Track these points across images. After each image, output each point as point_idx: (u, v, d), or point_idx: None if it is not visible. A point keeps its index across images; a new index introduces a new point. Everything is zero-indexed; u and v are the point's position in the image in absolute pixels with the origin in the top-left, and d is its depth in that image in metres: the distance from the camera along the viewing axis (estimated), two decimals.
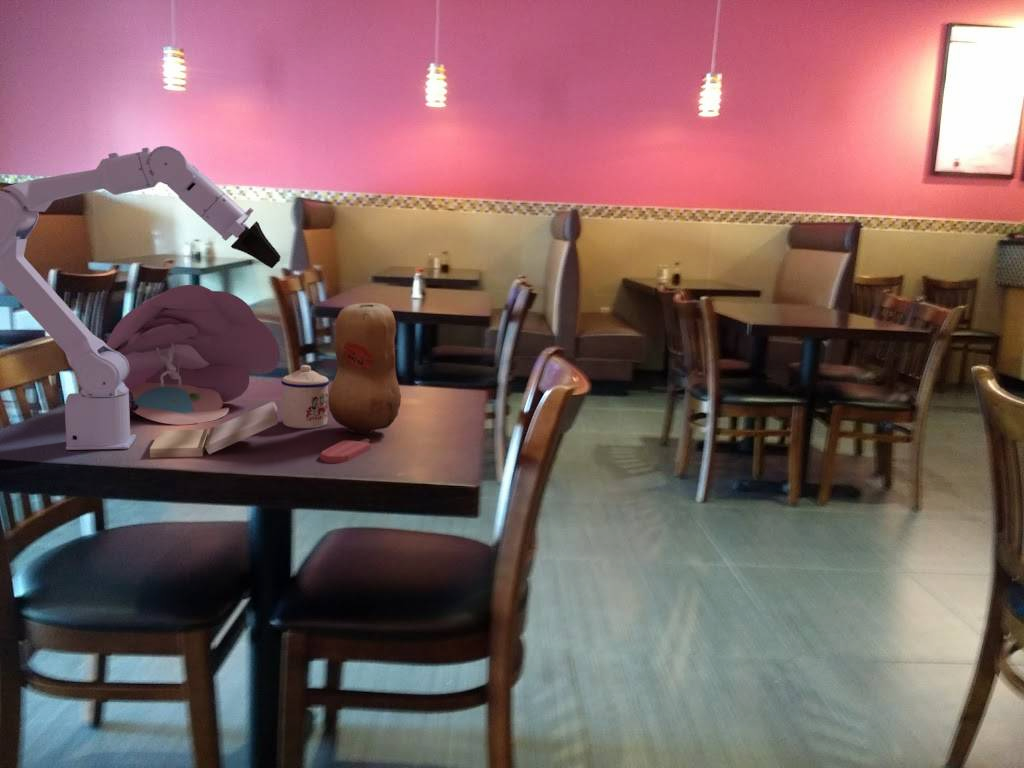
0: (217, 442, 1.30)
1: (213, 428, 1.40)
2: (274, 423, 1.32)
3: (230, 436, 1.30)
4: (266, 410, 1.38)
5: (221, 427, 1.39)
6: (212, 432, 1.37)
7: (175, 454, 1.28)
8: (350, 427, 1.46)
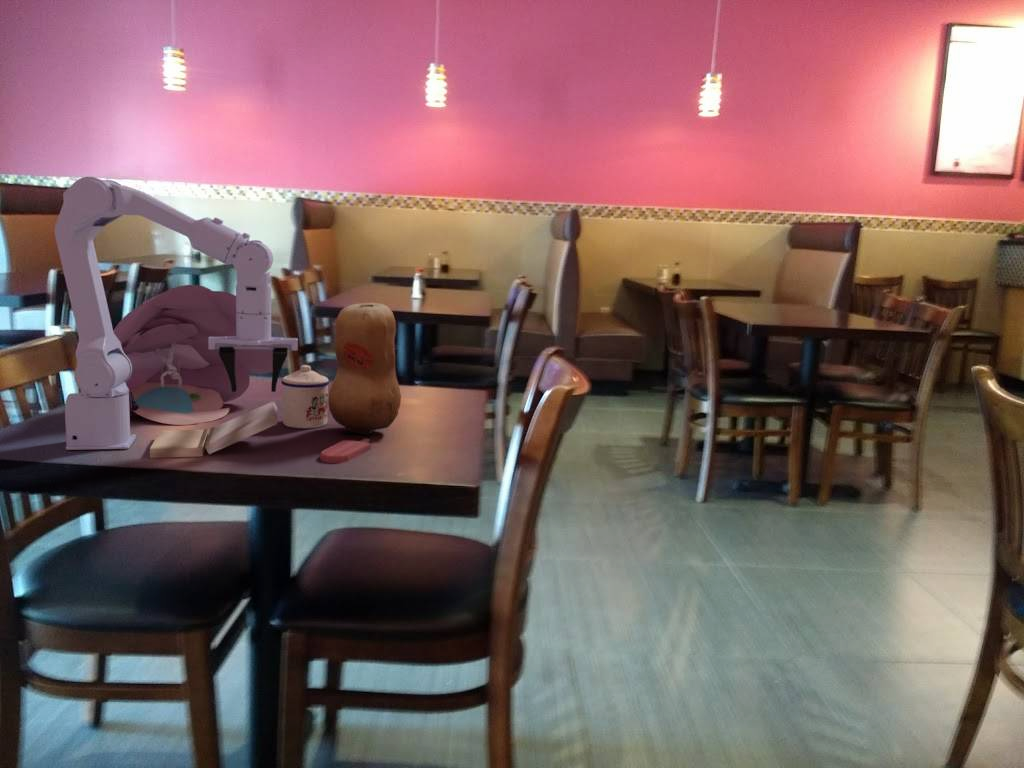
0: (217, 442, 1.30)
1: (213, 428, 1.40)
2: (274, 423, 1.32)
3: (230, 436, 1.30)
4: (266, 410, 1.38)
5: (221, 427, 1.39)
6: (212, 432, 1.37)
7: (175, 454, 1.28)
8: (350, 427, 1.46)
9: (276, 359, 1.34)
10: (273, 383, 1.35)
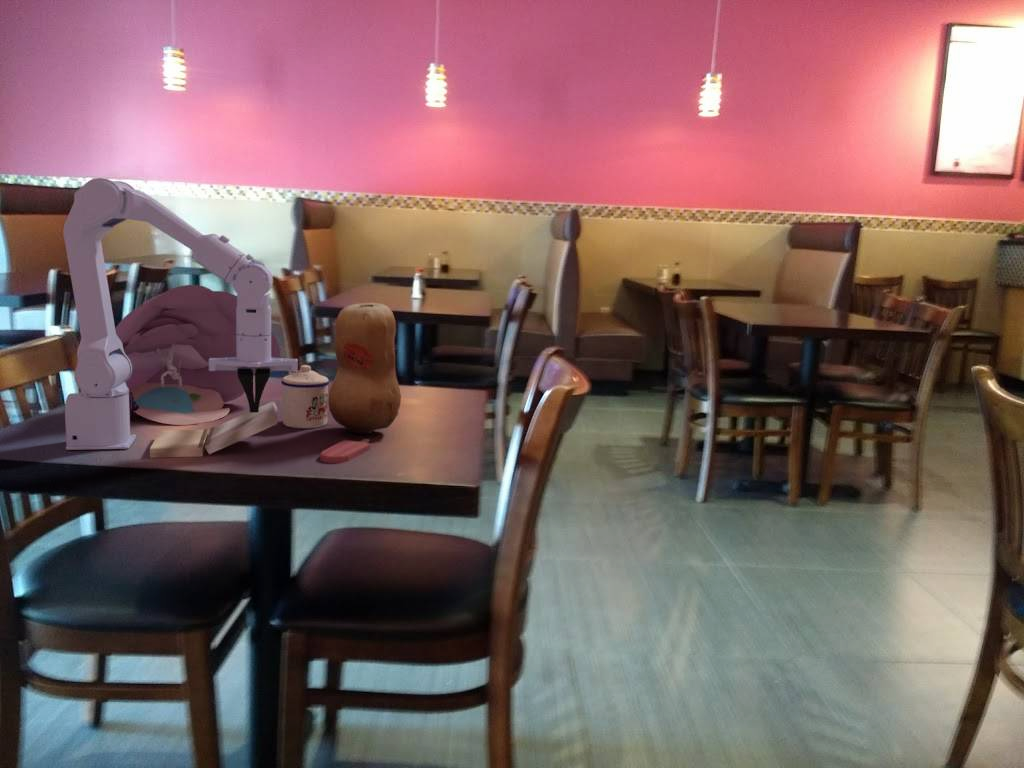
0: (217, 442, 1.30)
1: (213, 428, 1.40)
2: (274, 423, 1.32)
3: (230, 436, 1.30)
4: (266, 410, 1.38)
5: (221, 427, 1.39)
6: (212, 432, 1.37)
7: (175, 454, 1.28)
8: (350, 427, 1.46)
9: (258, 380, 1.33)
10: (256, 404, 1.35)
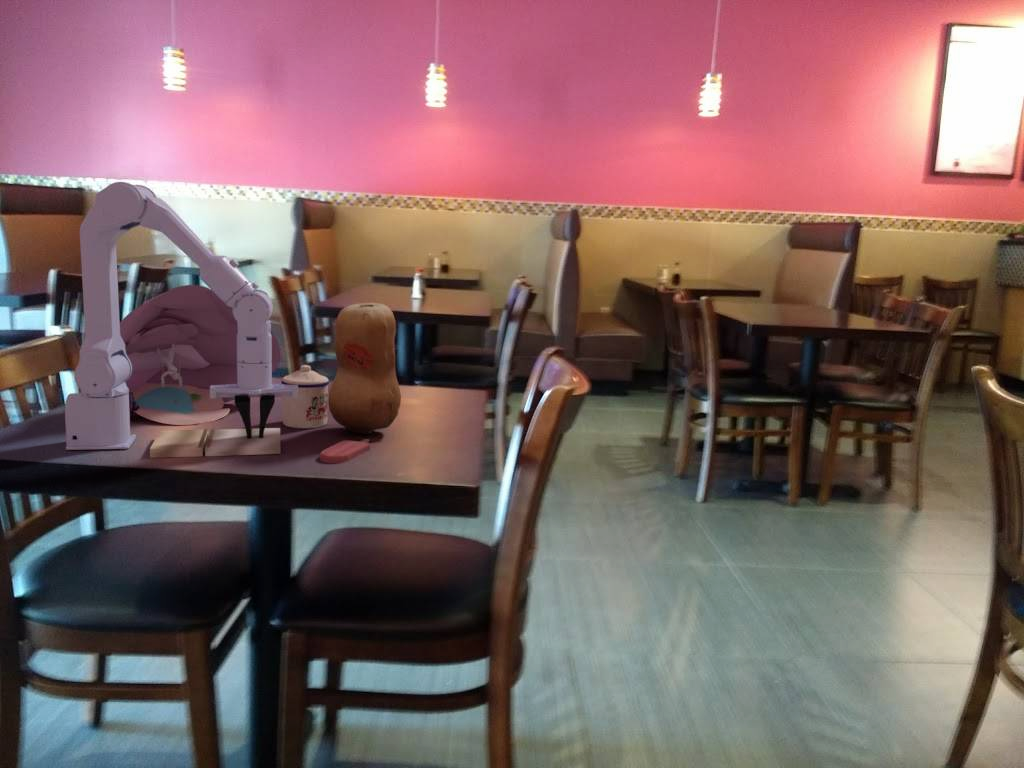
0: (218, 448, 1.30)
1: (214, 430, 1.40)
2: (278, 452, 1.33)
3: (232, 447, 1.31)
4: (272, 435, 1.39)
5: (223, 433, 1.39)
6: (213, 434, 1.37)
7: (175, 454, 1.28)
8: (350, 427, 1.46)
9: (263, 407, 1.35)
10: (260, 430, 1.36)
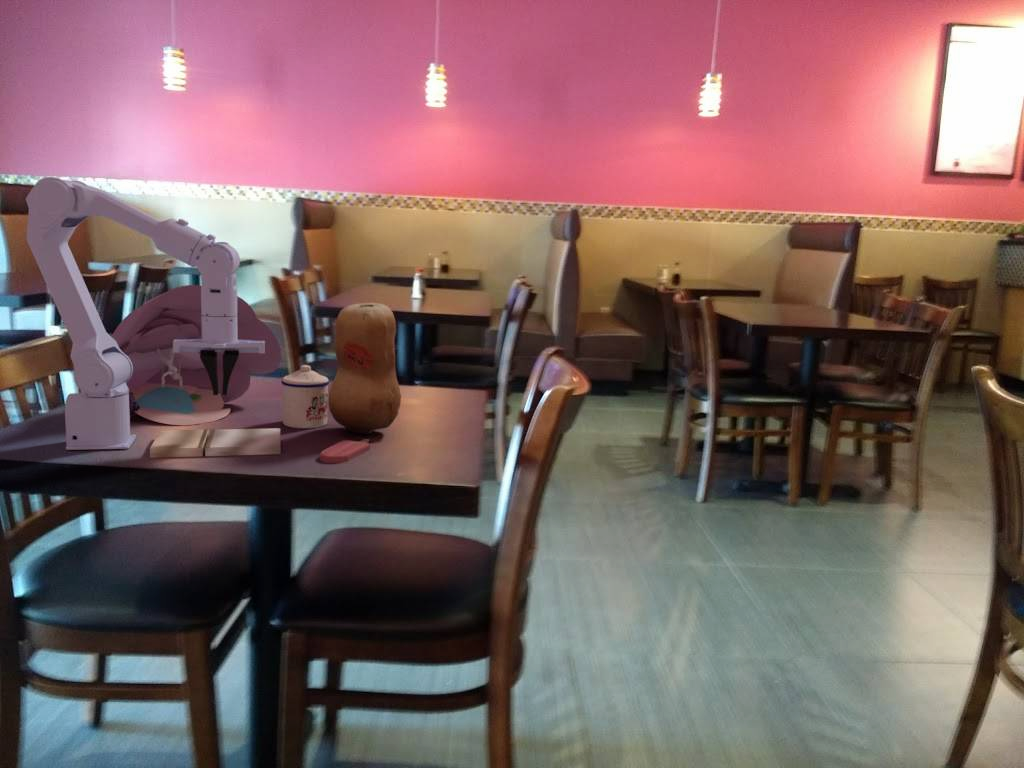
0: (218, 448, 1.30)
1: (214, 430, 1.40)
2: (278, 452, 1.33)
3: (232, 448, 1.31)
4: (272, 435, 1.39)
5: (223, 433, 1.39)
6: (213, 434, 1.37)
7: (175, 454, 1.28)
8: (350, 427, 1.46)
9: (226, 362, 1.31)
10: (224, 386, 1.33)
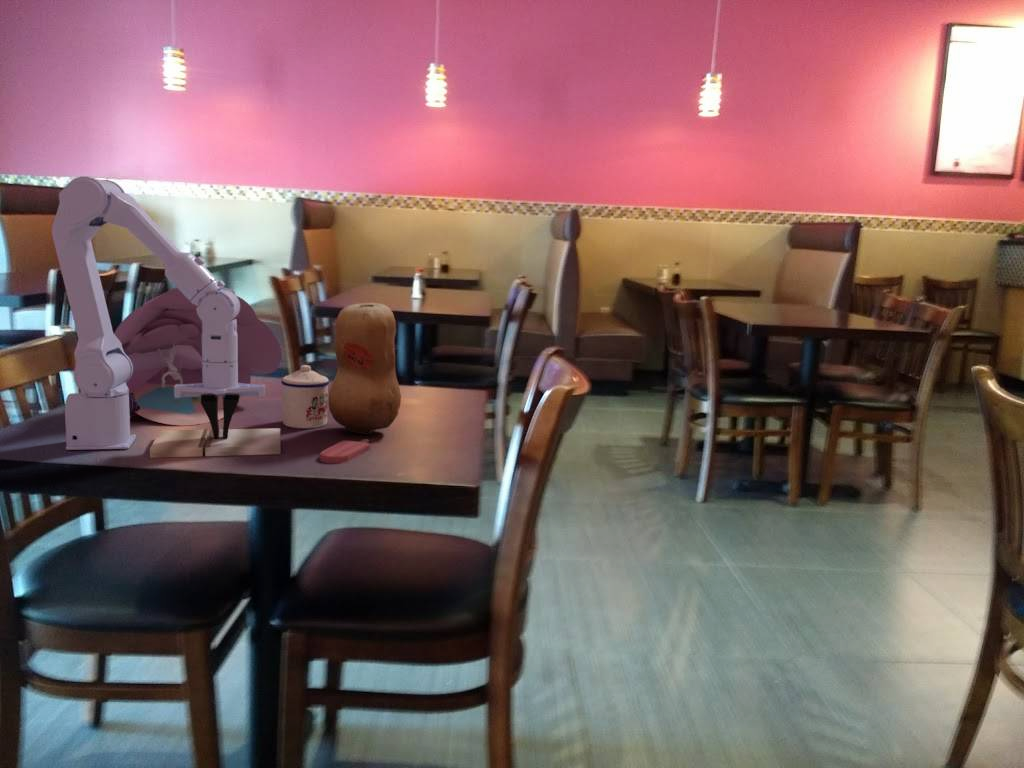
0: (218, 448, 1.30)
1: None
2: (278, 452, 1.33)
3: (232, 448, 1.31)
4: (272, 435, 1.39)
5: None
6: None
7: (175, 454, 1.28)
8: (350, 427, 1.46)
9: (227, 407, 1.33)
10: (224, 430, 1.34)
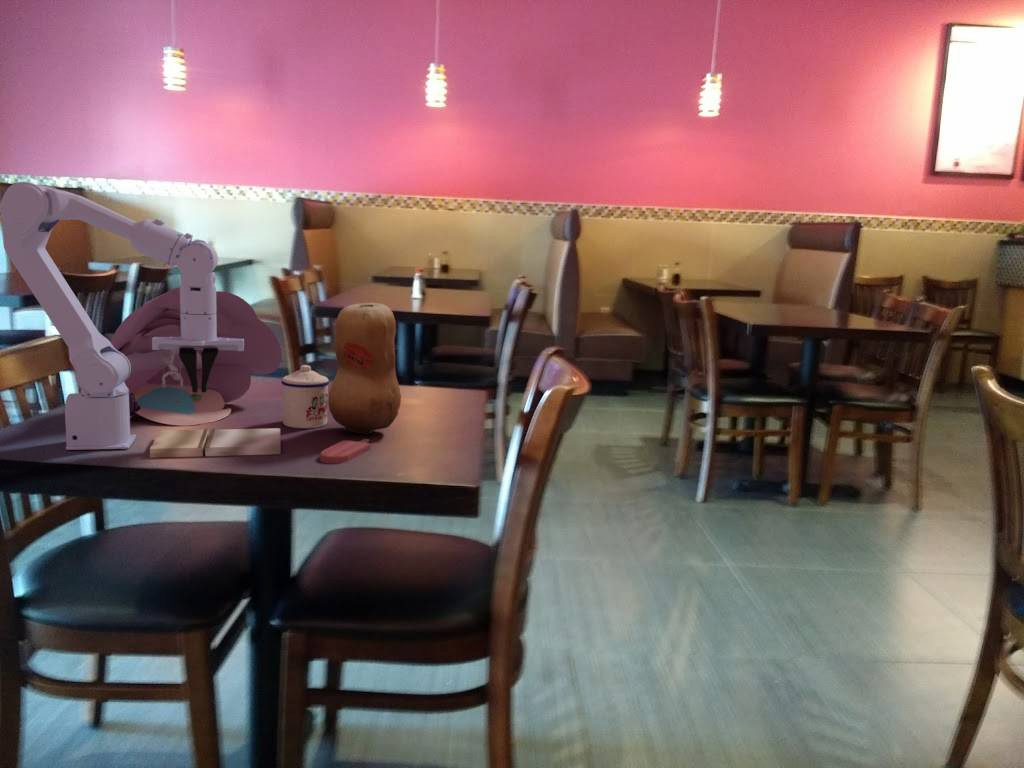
0: (218, 448, 1.30)
1: (214, 430, 1.40)
2: (278, 452, 1.33)
3: (232, 448, 1.31)
4: (272, 435, 1.39)
5: (223, 433, 1.39)
6: (213, 434, 1.37)
7: (175, 454, 1.28)
8: (350, 427, 1.46)
9: (205, 359, 1.32)
10: (203, 384, 1.34)
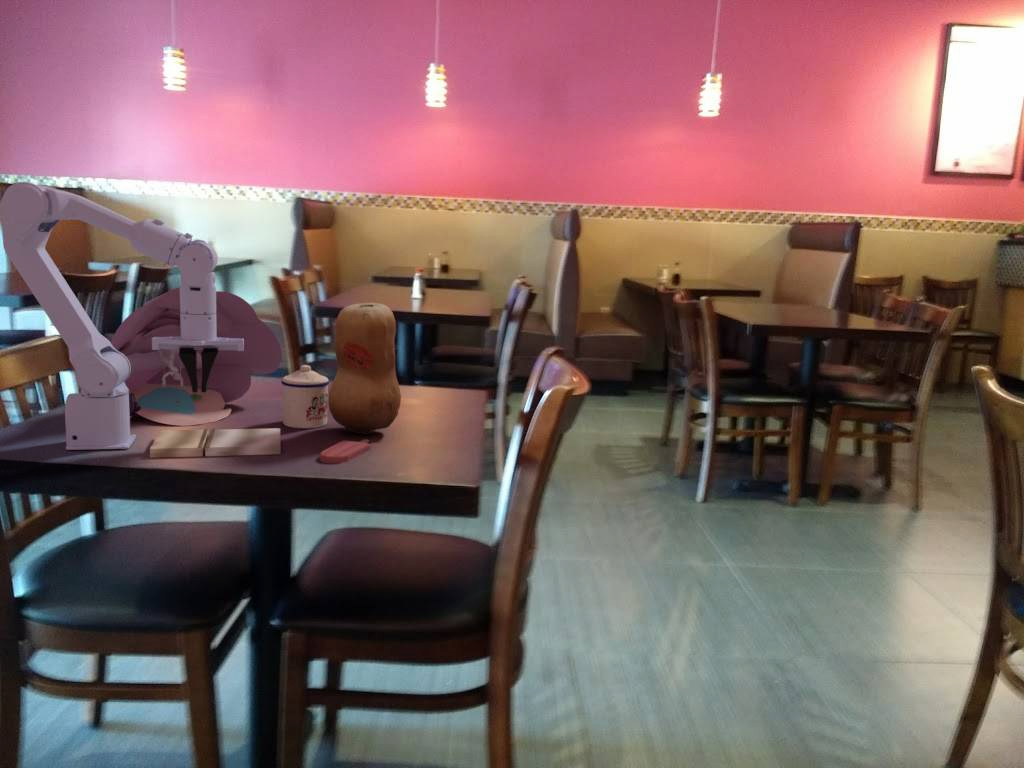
0: (218, 448, 1.30)
1: (214, 430, 1.40)
2: (278, 452, 1.33)
3: (232, 448, 1.31)
4: (272, 435, 1.39)
5: (223, 433, 1.39)
6: (213, 434, 1.37)
7: (175, 454, 1.28)
8: (350, 427, 1.46)
9: (205, 359, 1.32)
10: (203, 384, 1.34)
